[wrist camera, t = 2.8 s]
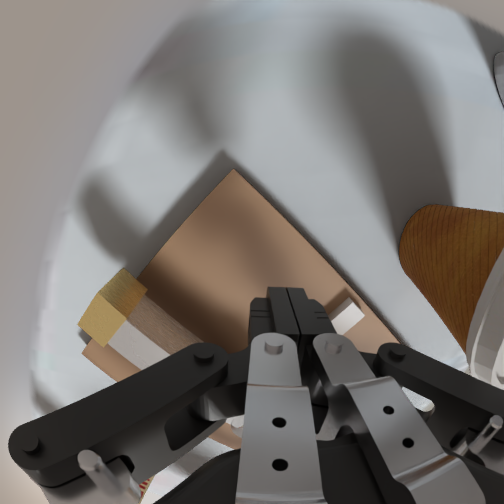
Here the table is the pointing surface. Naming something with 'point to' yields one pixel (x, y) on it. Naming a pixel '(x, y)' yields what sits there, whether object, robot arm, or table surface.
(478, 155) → the table surface
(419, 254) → the disposable coffee cup
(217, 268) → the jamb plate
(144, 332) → the swing bar
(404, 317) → the table surface
